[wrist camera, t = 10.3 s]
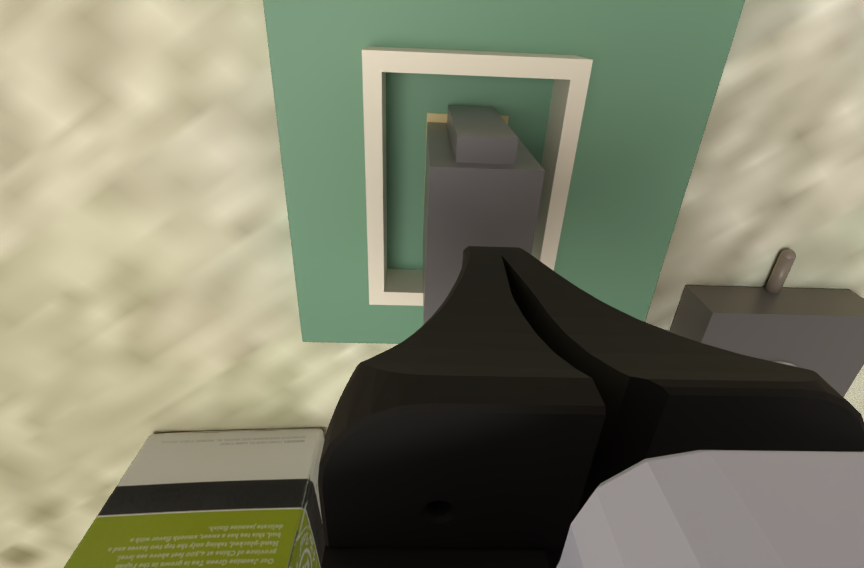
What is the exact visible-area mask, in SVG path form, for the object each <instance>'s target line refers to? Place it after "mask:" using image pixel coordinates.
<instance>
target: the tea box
mask: <svg viewBox="0 0 864 568" xmlns="http://www.w3.org/2000/svg"><path fill="white" fill-rule="evenodd" d="M324 441H325V440H324V434H323V431H322V429H321V428H303V429H263V430H231V431H201V432H177V433H161V434H152V435H150V436H149V437H148V439H147V440H146V442H145V444H144V445H143V447H142V448H141V450H140V451H139V453H138V454H137V456H136V457H135V458H134V460H133V462H132V463H131V465H130V466H129V468H128V469H127V471H126V472H125V474H124V475H123V477H122V479H121V480H120V482H119V484H118V485H117V487H116V488H115V490H114V491H113V493H112V494H111V495H110V497H109V498H108V500H107V502H106V503H105V505H104V506H103V508H102V510H101V511H100V513H99V514H98V516H97V517H96V519H95V520H94V522H93V523H92V525H91V526H90V528H89V529H88V531H87V533H86V534H85V536H84V537H83V539H82V540H81V542H80V543H79V545H78V547H77V548H76V550H75V551H74V553H73V554H72V556H71V557H70V559H69V560H68V562H67V563H66V565H65V567H64V568H321V565H322V560H323V554H324V549H325V542H324V533H323V525H322V516H321V507H320V499H319V490H318V473H319V463H320V459H321V454H322V450H323V445H324Z"/></svg>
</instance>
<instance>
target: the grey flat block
mask: <svg viewBox="0 0 864 568" xmlns="http://www.w3.org/2000/svg"><path fill="white" fill-rule="evenodd" d="M795 258H796V254H795V252H794V251H792V250H789V249H787V250H783V251H782V252H781V253H780V255H779V257H778V259H777V262H776V264H775V266H774V268H773V271H772V273H771V275H770V277H769V280H768V282H767V284H766V287H733V286H693V285H686V286H685V289H684V291H683V294H682V297H681V300H680V303H679V306H678V309H677V312H676V315H675V317H674V320H673V323H672V326H671V329H670V332H671V333H674V334H677V335H679V336H682V337H685V338H688V339H691V340H694V341H697V342H700V343H704V344H707V345H710V346H714V347H717V348H721V349H724V350H728V351H731V352H735V353H738V354H742V355H746V356H750V357H755V358H759V359H764V360H768V361H773V362H777V363H782V364H786V365H790V366H795V367H799V368H804V369H808V370H813V371H815V372H816V373H817V374H819V375H820V376H821V377H822V378H823V379H824V380H825V381H826V382H827V383H828V384H829V385H830V386H832V387H833V388H834V389H835V390H836V391H837V392H838V393H839V394H840V395H841V396H842V397H844V395H845V394H846V392H847V390H848V389H849V387H850V385H851V384H852V382H853V381H854V379H855V377H856V376H857V374H858V372H859V371H860V369H861V368H862V366H863V364H864V299H863V298H862V297H860V296H859V295H857V294H856V293H854V292H852V291H851V290H849V289H813V288H782V286H783V284H784V282H785V280H786V278H787V275H788V273H789V271H790V269H791V267H792V265H793V262H794V260H795Z"/></svg>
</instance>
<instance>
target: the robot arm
mask: <svg viewBox="0 0 864 568" xmlns="http://www.w3.org/2000/svg"><path fill="white" fill-rule="evenodd" d="M318 490H319V499H320V507H321V516H322V525H323V533H324V542H325V549H324V554H323V560H322V565H321V568H864V421H863V419H862V416H861V414H860V413H859V412H858V411H857V410H856V409H855V408H854V407H853V406H852V405H851V404H850V403H849V402H848V401H847V400H846V399H845V398H843V397H842V396H841V395H840V394H839V393H838V392H837V391H836V390H835V389H834V388H833V387H832V386H830V385H829V384H828V383H827V382H826V381H825V380H824V379H823V378H822V377H821V376H820V375H819V374H817V373H816V372H815V371H813V370H808V369H804V368H799V367H795V366H790V365H786V364H782V363H777V362H773V361H768V360H764V359H759V358H755V357H750V356H746V355H742V354H738V353H735V352H731V351H728V350H724V349H721V348H717V347H714V346H710V345H707V344H704V343H700V342H697V341H694V340H691V339H688V338H685V337H682V336H679V335H677V334H674V333H671V332H669V331H666V330H664V329H661V328H658V327H656V326H653V325H651V324H648V323H646V322H643V321H641V320H639V319H636V318H634V317H632V316H630V315H628V314H626V313H624V312H622V311H620V310H618V309H616V308H614V307H612V306H610V305H608V304H606V303H604V302H602V301H600V300H598V299H597V298H595V297H593V296H592V295H590V294H588V293H587V292H585V291H583V290H582V289H580V288H578V287H577V286H575V285H574V284H572V283H571V282H569V281H568V280H566V279H565V278H563V277H562V276H560V275H559V274H557V273H556V272H555V271H553V270H552V269H550V268H549V267H548V266H546V265H545V264H543V263H542V262H541V261H539V260H538V259H537V258H535V257H534V256H532V255H531V254H529V253H528V252H526V251H525V250H523V249H521V248H519V247H484V246H468V247H467V248H465V249H464V250H463V259H462V269H461V271H460V273H459V276H458V278H457V280H456V282H455V284H454V286H453V288H452V289H451V291H450V293H449V294H448V296H447V298H446V299H445V300H444V302H443V303H442V305H441V306H440V307H439V308H438V310H437V311H436V312H435V313H434V314H433V315H432V317H431V318H430V319H429V320H428V321H427V322H426V323H425V324H424V325H423V326H422V327H421V328H419V329H418V330H417V331H416V332H415V333H414V334H412V335H411V336H410V337H408V338H407V339H405V340H404V341H403V342H401V343H400V344H398V345H396V346H394V347H393V348H391V349H389V350H387V351H385V352H383V353H381V354H379V355H376V356H374V357H372V358H370V359H368V360H366V361H363V362H361V363H360V364H359V365H358V366H357V367H356V369H355V371H354V372H353V374H352V376H351V378H350V380H349V382H348V383H347V385H346V387H345V389H344V391H343V393H342V395H341V397H340V399H339V402H338V404H337V406H336V409H335V411H334V414H333V416H332V419H331V421H330V424H329V427H328V430H327V433H326V437H325V441H324V445H323V450H322V454H321V459H320V463H319V473H318Z"/></svg>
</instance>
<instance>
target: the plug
mask: <svg viewBox="0 0 864 568" xmlns="http://www.w3.org/2000/svg"><path fill="white" fill-rule="evenodd" d="M544 174H545V170H544V169H543V168H542V167H541V165H540V164H539V163H538V162H537V161H536V159H535V158H534V157H533V156H532V154H531V153H530V152H529V151H528V149H527V148H526V147H525V146H524V144H523V143H522V142H521V141H520V139H519V138H518V137H517V136H516V134H515V133H514V132H513V131H512V130H511V128H510V127H509V126H508V125H507V123H506V122H505V121H504V120H503V118H502V117H501V116H500V115H499V114H498V112H497V111H496V110H495V109H494V107H487V106H463V105H448V113H447V123H440V122H427V141H426V169H425V197H424V224H423V325H424V324H425V323H426V322H427V321H428V320H429V319H430V318H431V317H432V315H433V314H434V313H435V312H436V311H437V310H438V308H439V307H440V306H441V305H442V303H443V302H444V300H445V299H446V298H447V296H448V294H449V293H450V291H451V289H452V288H453V286H454V284H455V282H456V280H457V278H458V276H459V273H460V271H461V269H462V259H463V250H464V249H465V248H467V247H468V246H484V247H519V248H521V249H523V250H525V251H526V252H528V253H529V254H532V248H533V242H534V236H535V230H536V223H537V217H538V211H539V205H540V198H541V192H542V186H543V180H544Z"/></svg>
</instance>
